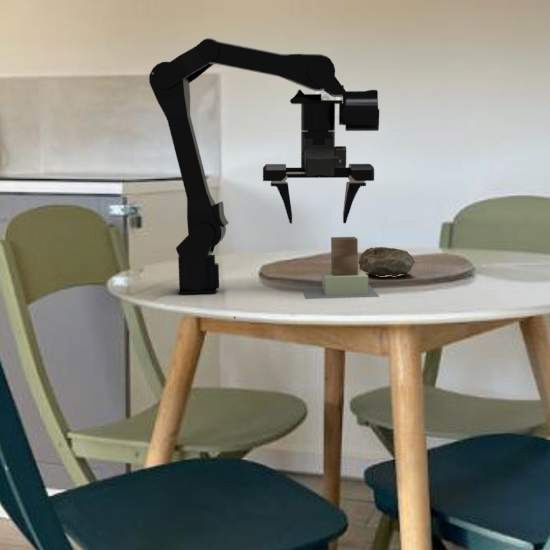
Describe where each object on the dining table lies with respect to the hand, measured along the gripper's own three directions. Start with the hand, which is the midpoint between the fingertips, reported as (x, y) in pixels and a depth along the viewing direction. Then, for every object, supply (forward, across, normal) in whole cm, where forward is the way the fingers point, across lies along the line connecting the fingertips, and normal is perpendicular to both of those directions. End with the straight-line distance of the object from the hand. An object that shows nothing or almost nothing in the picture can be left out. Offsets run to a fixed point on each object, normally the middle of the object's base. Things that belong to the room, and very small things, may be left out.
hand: (317, 223), depth 160 cm
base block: (+11, +4, -5) cm, 13 cm away
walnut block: (+8, +4, -5) cm, 10 cm away
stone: (+12, +14, +13) cm, 22 cm away
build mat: (+12, +3, -5) cm, 13 cm away
